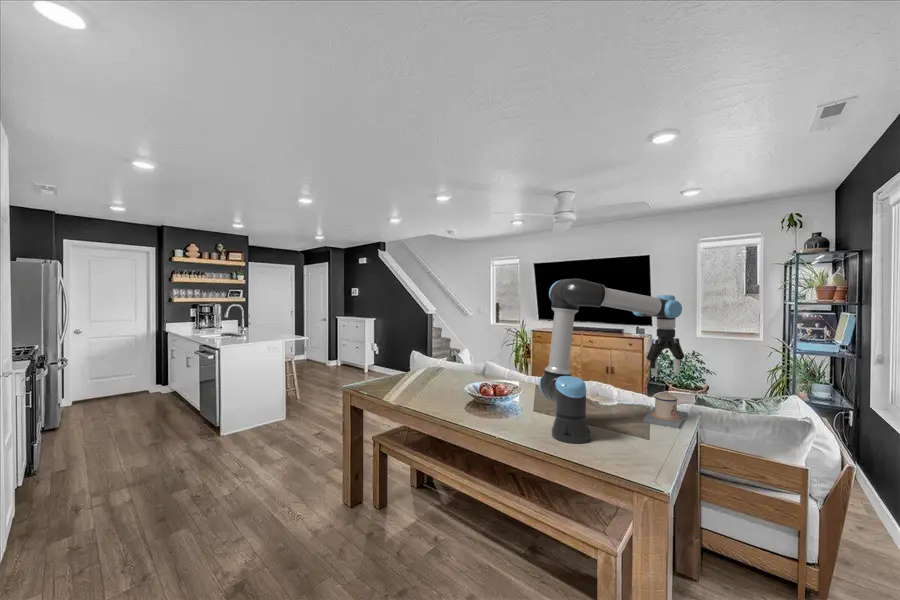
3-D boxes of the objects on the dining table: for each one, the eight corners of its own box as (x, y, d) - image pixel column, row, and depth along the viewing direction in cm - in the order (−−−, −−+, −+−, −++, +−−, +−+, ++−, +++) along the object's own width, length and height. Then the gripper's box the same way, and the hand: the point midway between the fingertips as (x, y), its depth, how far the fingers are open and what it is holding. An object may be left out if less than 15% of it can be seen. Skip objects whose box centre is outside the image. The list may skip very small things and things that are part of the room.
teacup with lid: (675, 421, 169) (675, 394, 169) (652, 416, 175) (653, 391, 174) (679, 414, 178) (680, 389, 178) (658, 410, 184) (658, 386, 184)
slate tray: (678, 428, 162) (678, 426, 162) (642, 421, 171) (642, 419, 171) (687, 414, 181) (687, 412, 181) (654, 409, 190) (654, 406, 190)
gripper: (678, 326, 183) (678, 370, 183) (638, 328, 175) (637, 374, 175) (693, 328, 176) (693, 373, 176) (651, 330, 168) (651, 377, 168)
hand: (665, 374), depth 176 cm, fingers open, 13 cm apart
